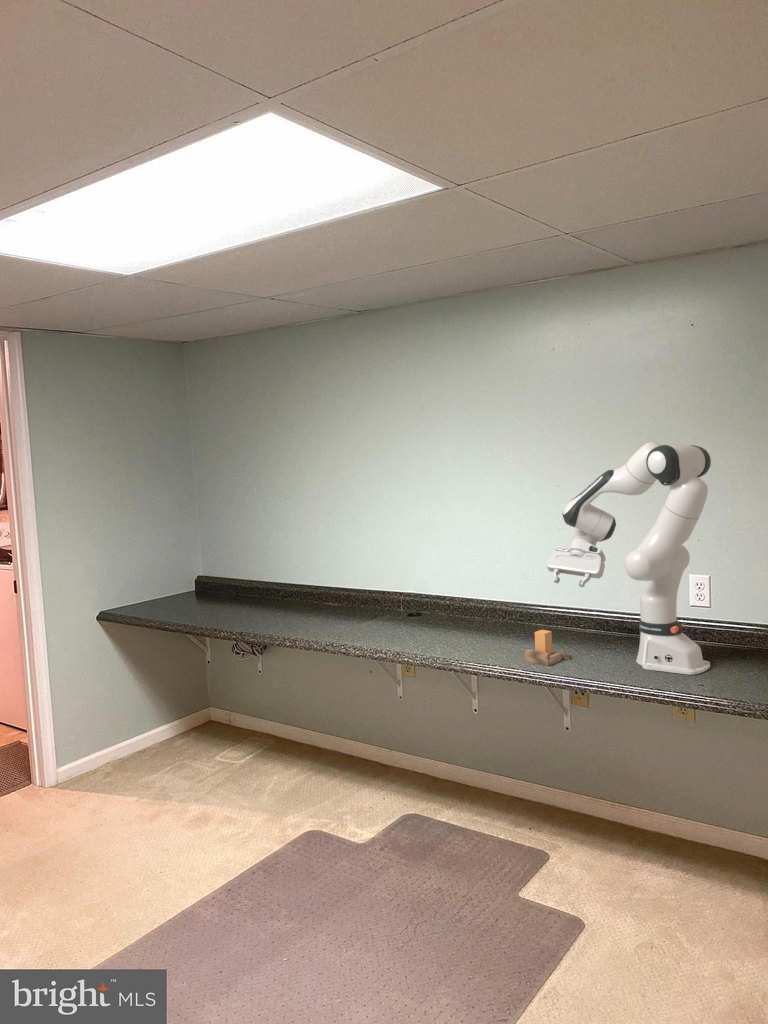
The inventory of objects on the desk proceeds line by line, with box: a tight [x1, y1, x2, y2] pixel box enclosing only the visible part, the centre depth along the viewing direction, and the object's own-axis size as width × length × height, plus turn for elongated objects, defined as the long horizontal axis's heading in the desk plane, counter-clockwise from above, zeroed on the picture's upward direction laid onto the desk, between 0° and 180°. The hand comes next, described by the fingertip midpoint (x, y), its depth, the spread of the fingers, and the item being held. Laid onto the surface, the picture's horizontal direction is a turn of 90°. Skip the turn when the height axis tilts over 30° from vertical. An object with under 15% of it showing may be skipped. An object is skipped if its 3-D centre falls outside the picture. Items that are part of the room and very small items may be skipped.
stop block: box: [534, 629, 553, 656], centre depth 260 cm, size 4×4×10 cm
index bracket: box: [524, 648, 563, 667], centre depth 261 cm, size 9×8×4 cm
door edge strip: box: [552, 651, 572, 661], centre depth 265 cm, size 12×2×1 cm, turn 45°
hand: (568, 584), depth 270 cm, fingers open, 8 cm apart
